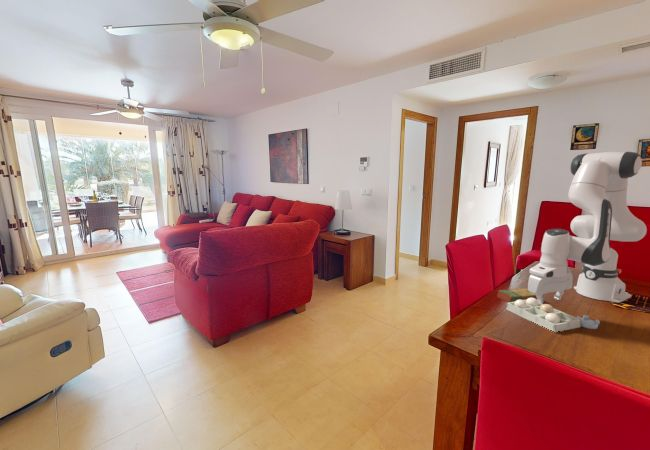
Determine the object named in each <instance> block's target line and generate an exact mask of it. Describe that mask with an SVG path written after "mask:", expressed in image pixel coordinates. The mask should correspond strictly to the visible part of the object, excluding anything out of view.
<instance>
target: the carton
mask: <svg viewBox="0 0 650 450" xmlns="http://www.w3.org/2000/svg"><path fill="white" fill-rule="evenodd" d="M497 298H498V299H500V300H502V301H504V302H505V303H506V304H507V303H509V302H515V301H516V300H519V299H521V300H527V299H528V298H535V299H537V297H536V295H535V294H533V293H530V292H529V291H528V287H524V288H523V287H522V288H510V289H509V288H508V289H500V290H498V291H497Z"/></svg>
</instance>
